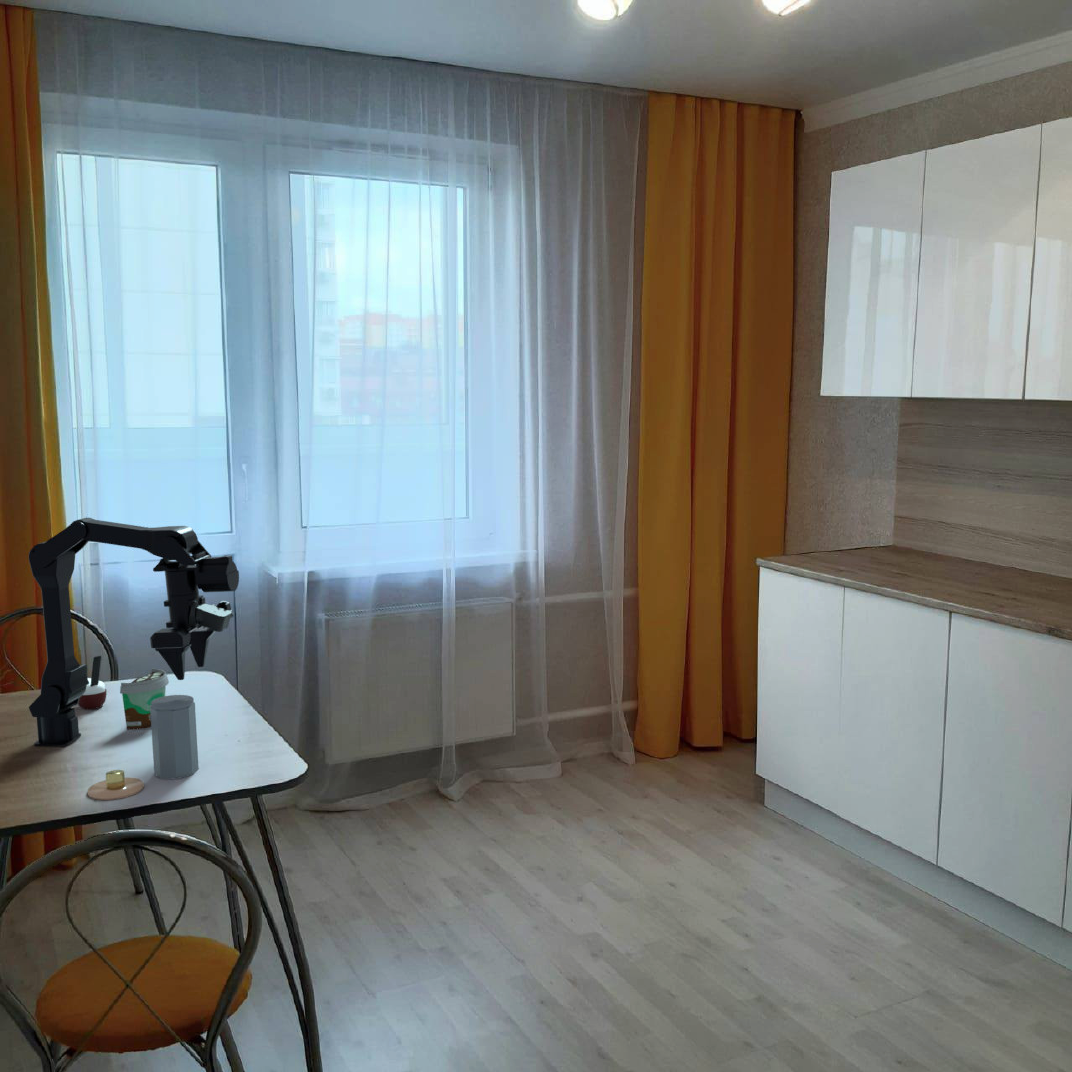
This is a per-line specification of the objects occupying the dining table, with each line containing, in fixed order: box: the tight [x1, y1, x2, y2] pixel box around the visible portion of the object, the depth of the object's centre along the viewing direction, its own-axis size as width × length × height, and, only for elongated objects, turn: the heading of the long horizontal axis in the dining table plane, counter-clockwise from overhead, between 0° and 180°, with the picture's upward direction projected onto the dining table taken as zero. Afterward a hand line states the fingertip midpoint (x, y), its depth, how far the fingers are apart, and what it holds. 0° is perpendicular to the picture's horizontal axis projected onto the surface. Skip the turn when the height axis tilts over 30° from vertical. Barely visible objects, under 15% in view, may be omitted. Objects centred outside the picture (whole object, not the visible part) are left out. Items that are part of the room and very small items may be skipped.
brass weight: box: [105, 769, 126, 790], centre depth 184 cm, size 3×3×2 cm
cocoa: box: [77, 655, 107, 711], centre depth 230 cm, size 10×6×12 cm, turn 24°
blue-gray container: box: [150, 694, 200, 780], centre depth 191 cm, size 7×7×13 cm
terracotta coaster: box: [87, 776, 145, 801], centre depth 184 cm, size 9×9×1 cm
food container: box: [119, 667, 170, 731], centre depth 219 cm, size 12×6×10 cm, turn 168°
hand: (191, 673), depth 204 cm, fingers open, 9 cm apart
